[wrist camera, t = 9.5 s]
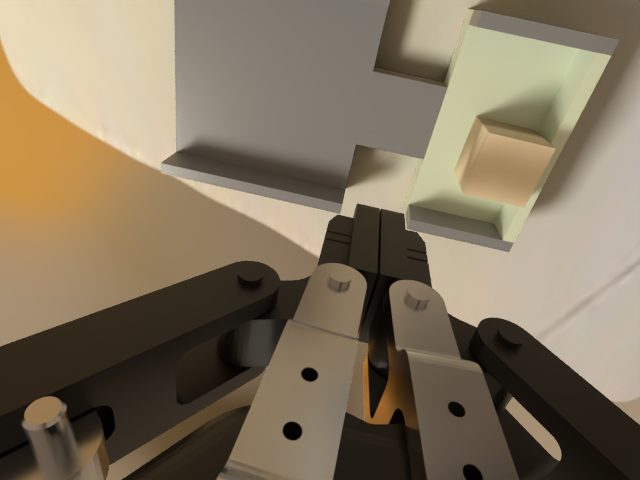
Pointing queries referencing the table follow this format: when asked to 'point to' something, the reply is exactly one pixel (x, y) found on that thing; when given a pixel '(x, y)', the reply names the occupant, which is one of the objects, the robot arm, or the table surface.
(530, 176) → the birch block
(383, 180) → the table surface
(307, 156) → the trap box
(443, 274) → the table surface
